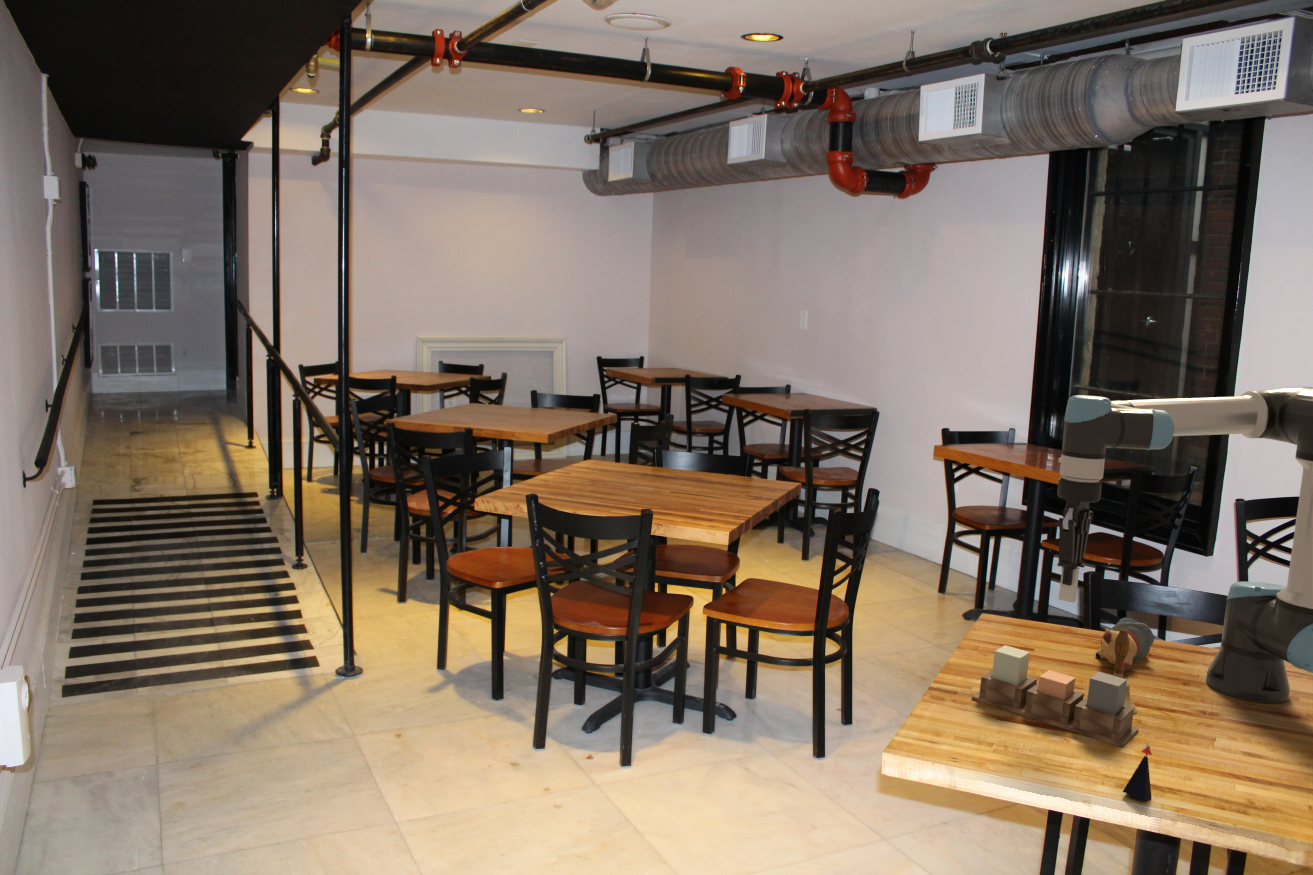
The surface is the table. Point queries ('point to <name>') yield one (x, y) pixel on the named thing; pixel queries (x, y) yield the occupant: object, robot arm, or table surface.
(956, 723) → the table surface
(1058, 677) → the terracotta button
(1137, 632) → the figurine
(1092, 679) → the grey square block
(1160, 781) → the table surface
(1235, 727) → the table surface
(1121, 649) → the hand bell
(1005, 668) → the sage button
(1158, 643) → the table surface
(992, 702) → the wooden base
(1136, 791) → the figurine
